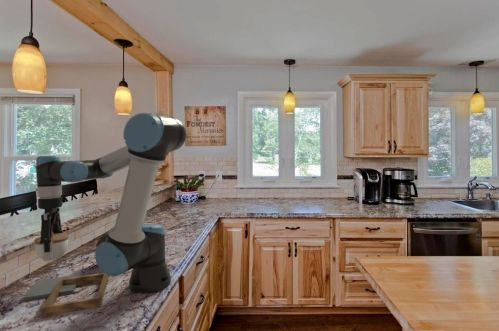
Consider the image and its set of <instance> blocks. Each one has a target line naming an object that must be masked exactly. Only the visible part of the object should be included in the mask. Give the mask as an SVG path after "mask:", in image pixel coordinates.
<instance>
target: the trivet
mask: <svg viewBox="0 0 499 331" xmlns="http://www.w3.org/2000/svg"><path fill="white" fill-rule="evenodd" d="M79 276H82V274H81V273H79V274H72V275H67V276H66V275H65V276H57V277H52V278H45V279H39V280H37V281H36V282H35V283H34V284H33V286H31V288H30V289H29V290H28V291H27V293H25V295H24V296H23V297H22V298H23V302H27V301H34V300H40V299H46V298H47V299H48V297H49V296H50V294H51V292H52V291H53V289H54V288H55V286H56V285H57V283H58V282H59V280H60V279H65V278H72V277H79ZM76 288H77V283H71V284H64V285H63V286H62V288H61V289H60V291H59V296H64V295H65V296H66V295H70V294H74V292H75V291H76V290H77V289H76Z"/></svg>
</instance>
